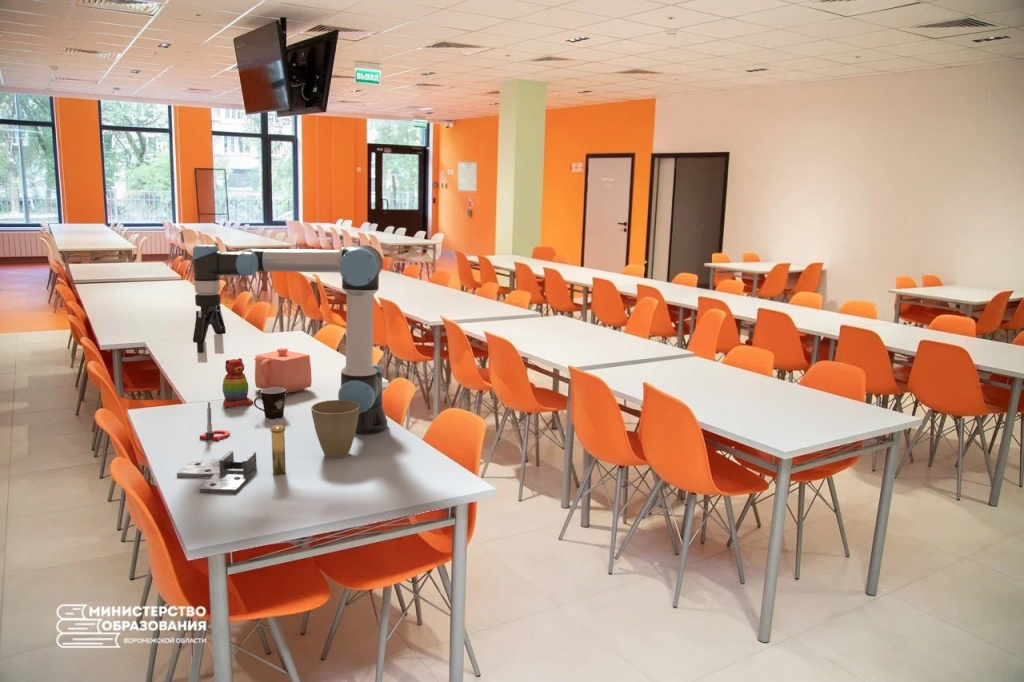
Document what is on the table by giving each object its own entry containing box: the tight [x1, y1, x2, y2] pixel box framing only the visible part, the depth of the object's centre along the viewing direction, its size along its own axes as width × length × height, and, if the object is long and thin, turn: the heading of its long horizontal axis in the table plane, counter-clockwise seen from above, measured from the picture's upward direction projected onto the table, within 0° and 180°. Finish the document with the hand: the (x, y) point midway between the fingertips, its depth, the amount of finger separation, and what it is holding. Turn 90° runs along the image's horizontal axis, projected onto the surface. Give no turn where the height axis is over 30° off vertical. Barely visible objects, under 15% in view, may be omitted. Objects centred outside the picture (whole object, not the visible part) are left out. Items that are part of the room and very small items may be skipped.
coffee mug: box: [253, 387, 286, 420], centre depth 276 cm, size 12×9×10 cm
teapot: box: [254, 347, 312, 395], centre depth 314 cm, size 25×23×18 cm
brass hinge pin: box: [269, 424, 287, 476], centre depth 222 cm, size 4×4×14 cm
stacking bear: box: [222, 357, 254, 409], centre depth 291 cm, size 11×10×18 cm
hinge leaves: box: [176, 450, 258, 495], centre depth 217 cm, size 21×21×5 cm
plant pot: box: [310, 399, 360, 459], centre depth 238 cm, size 15×15×16 cm
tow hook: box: [199, 401, 231, 442], centre depth 253 cm, size 8×13×9 cm
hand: (211, 357), depth 247 cm, fingers open, 13 cm apart
